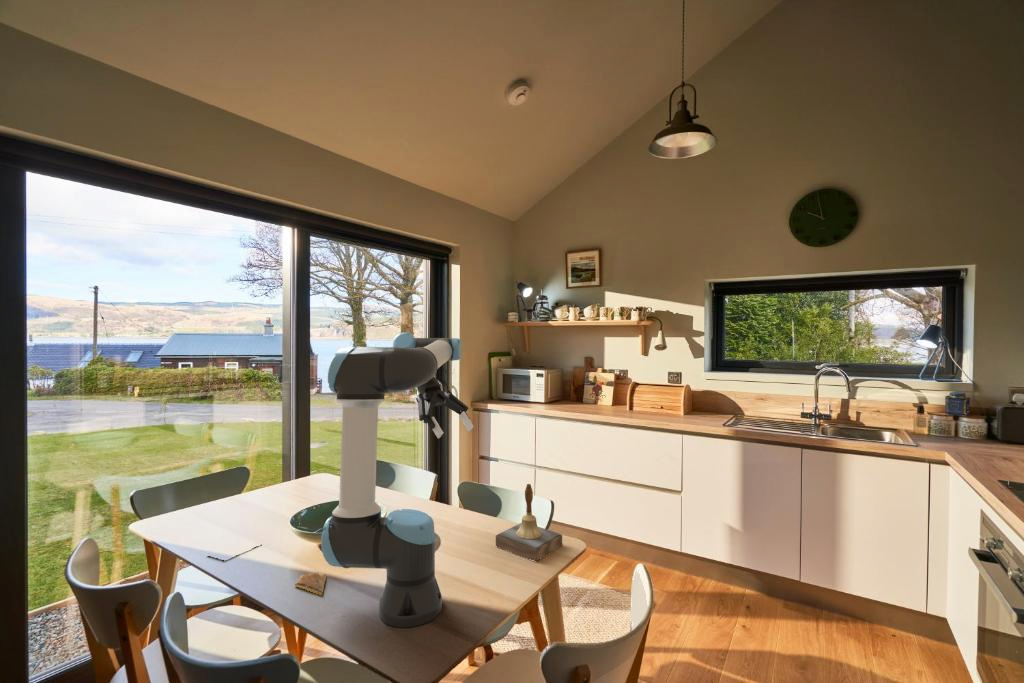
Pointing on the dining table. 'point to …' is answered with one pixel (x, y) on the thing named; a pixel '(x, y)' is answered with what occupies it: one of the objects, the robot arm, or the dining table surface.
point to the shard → (312, 582)
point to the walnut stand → (529, 543)
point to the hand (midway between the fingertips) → (456, 432)
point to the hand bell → (529, 519)
